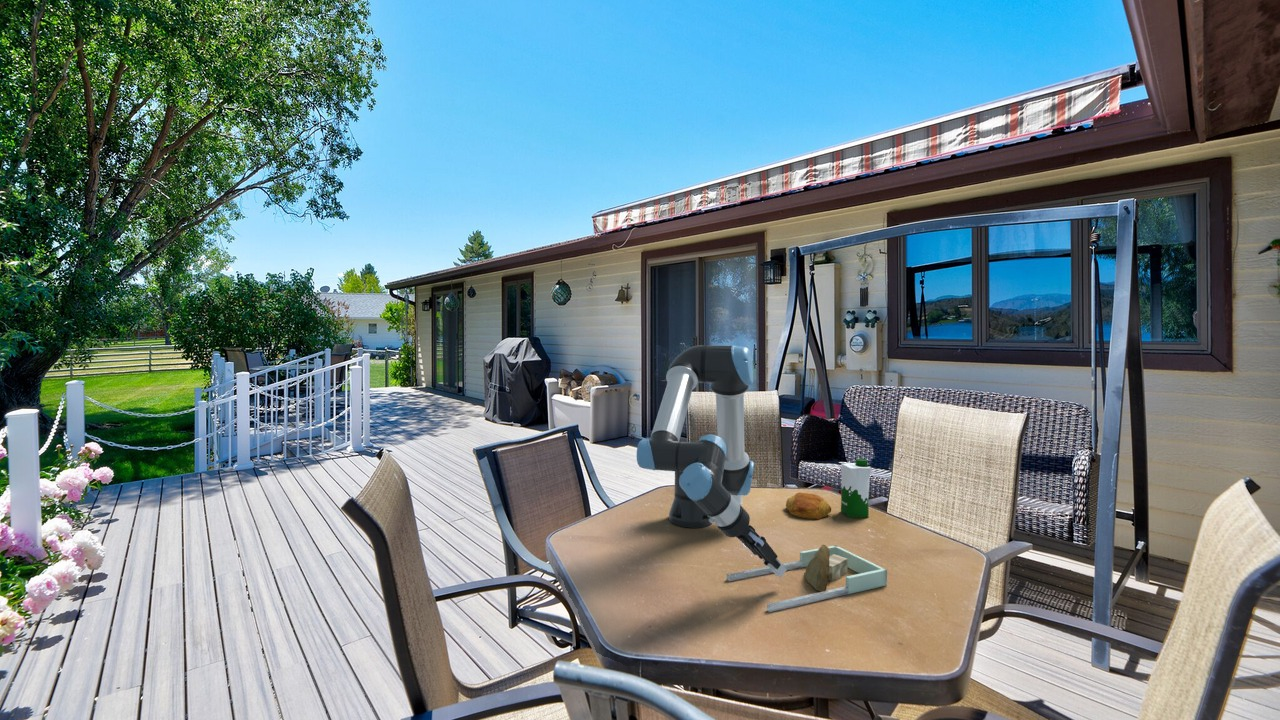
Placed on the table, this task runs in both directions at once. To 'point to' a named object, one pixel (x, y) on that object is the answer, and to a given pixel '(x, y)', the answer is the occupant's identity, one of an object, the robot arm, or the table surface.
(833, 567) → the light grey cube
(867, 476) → the milk carton
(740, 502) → the drinking glass
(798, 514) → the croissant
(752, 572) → the slot rails
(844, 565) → the beige cube
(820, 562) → the rock
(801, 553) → the tray pen
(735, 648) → the table surface
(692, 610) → the table surface
